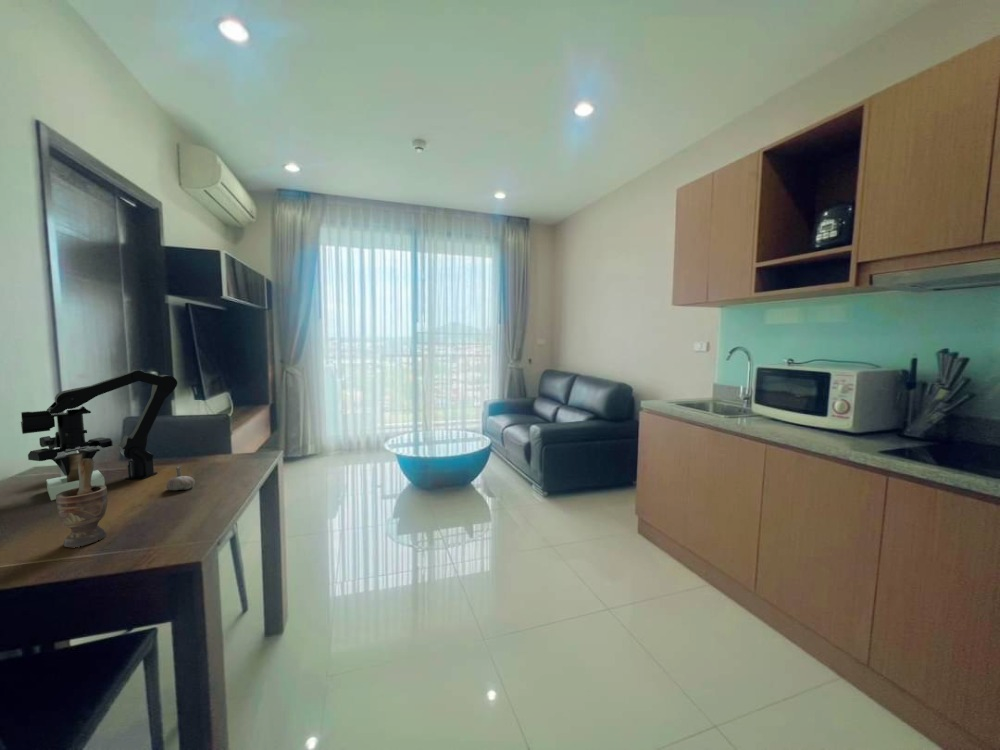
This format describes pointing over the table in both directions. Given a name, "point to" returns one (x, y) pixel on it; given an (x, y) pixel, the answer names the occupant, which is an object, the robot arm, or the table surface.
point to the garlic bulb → (180, 482)
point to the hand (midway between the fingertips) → (75, 473)
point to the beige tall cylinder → (74, 466)
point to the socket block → (70, 484)
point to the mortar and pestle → (83, 508)
